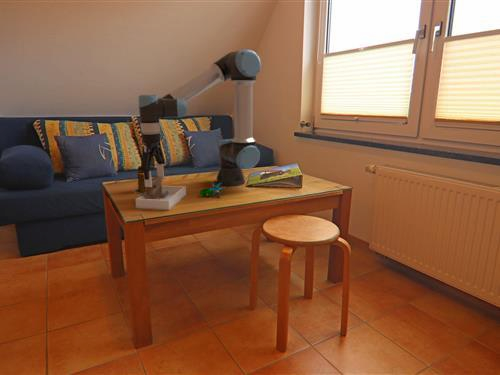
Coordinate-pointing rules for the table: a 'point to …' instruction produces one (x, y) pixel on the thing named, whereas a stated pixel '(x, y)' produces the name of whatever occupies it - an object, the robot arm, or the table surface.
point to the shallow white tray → (162, 199)
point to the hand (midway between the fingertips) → (154, 182)
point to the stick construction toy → (212, 190)
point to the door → (154, 189)
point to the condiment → (140, 182)
